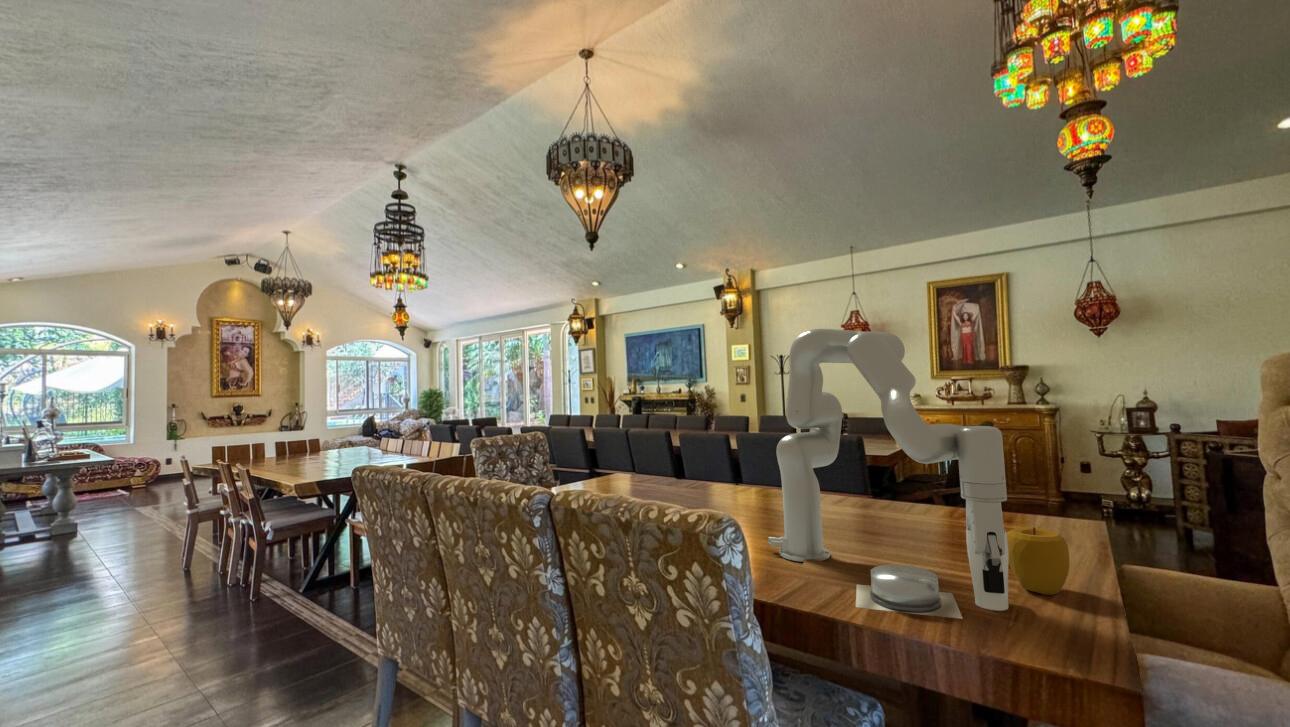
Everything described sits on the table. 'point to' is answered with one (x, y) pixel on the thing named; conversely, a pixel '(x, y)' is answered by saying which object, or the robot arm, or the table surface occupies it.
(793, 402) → the robot arm
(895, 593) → the grey short round cylinder
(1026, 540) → the apple
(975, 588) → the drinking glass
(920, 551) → the table surface
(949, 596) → the board
